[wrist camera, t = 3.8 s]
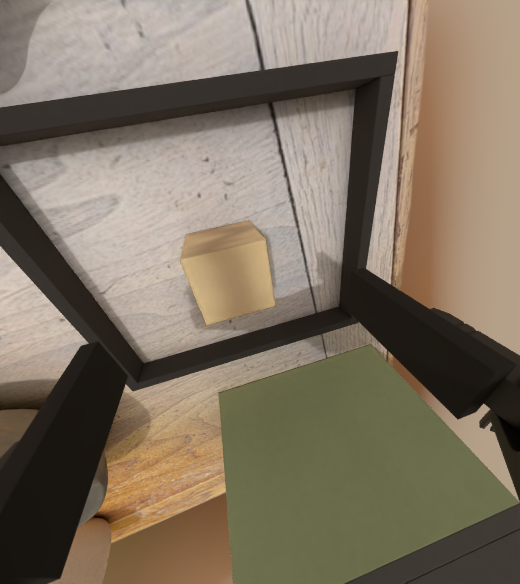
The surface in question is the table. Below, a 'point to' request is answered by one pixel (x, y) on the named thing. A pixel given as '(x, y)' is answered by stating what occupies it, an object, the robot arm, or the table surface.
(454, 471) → the stand
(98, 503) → the bowl
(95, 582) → the planter
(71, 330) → the table surface
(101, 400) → the robot arm
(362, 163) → the rim tray
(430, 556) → the bin
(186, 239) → the toy block
